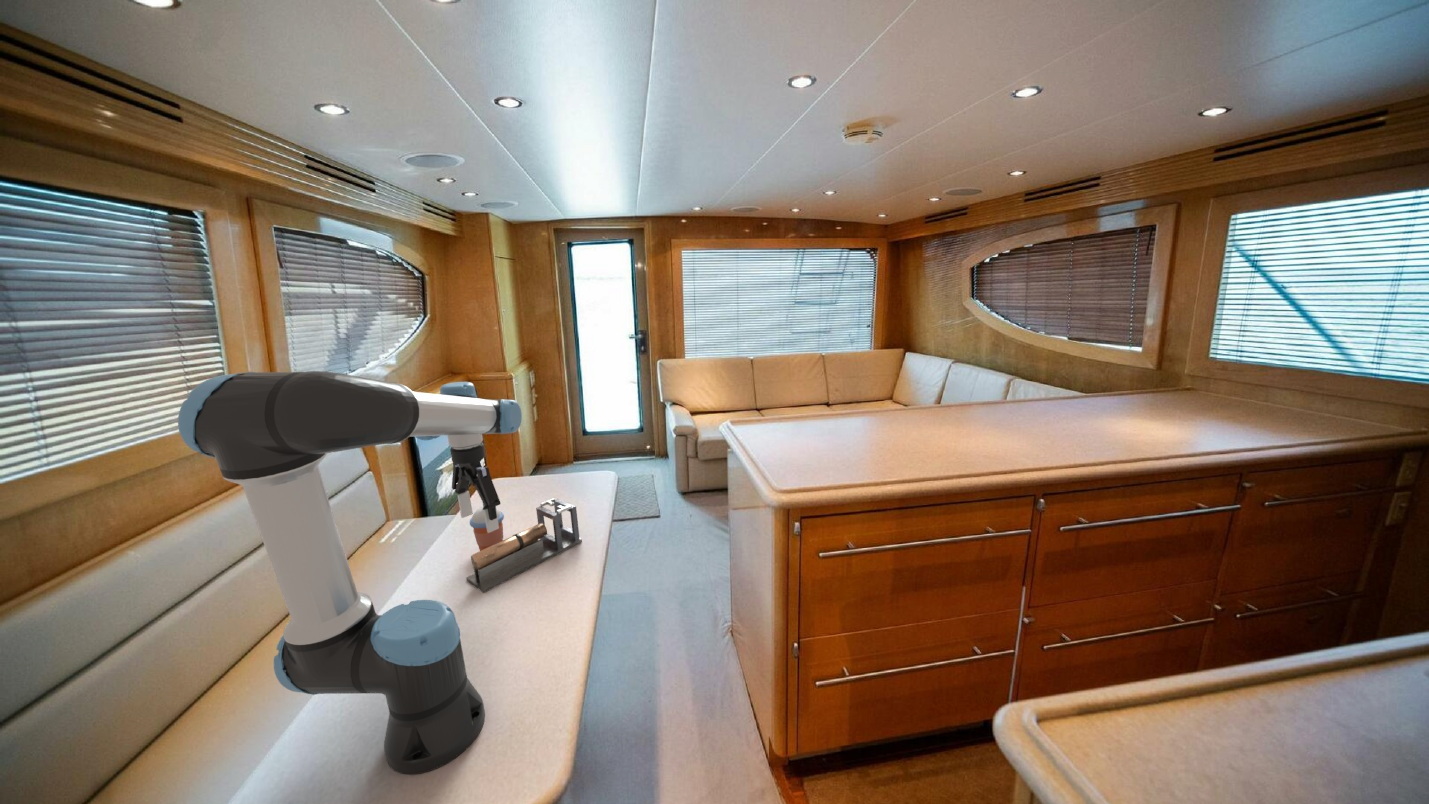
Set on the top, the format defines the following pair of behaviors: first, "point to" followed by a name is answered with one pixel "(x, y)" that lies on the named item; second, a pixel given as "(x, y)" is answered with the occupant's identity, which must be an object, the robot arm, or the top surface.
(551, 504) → the collar rail
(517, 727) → the top surface
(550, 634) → the top surface
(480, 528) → the cup with straw
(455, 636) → the robot arm
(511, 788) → the top surface
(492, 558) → the tan wooden rod
